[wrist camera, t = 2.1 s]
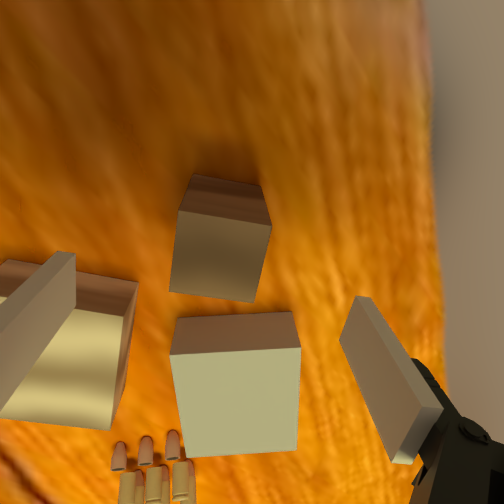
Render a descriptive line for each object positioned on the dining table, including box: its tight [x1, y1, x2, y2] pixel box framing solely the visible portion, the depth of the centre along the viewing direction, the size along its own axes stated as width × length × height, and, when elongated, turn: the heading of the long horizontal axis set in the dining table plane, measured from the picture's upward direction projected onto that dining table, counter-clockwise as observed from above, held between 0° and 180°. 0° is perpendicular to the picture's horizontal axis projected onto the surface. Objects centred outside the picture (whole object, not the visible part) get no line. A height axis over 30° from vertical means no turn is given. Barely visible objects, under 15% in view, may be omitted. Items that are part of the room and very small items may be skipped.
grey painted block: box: [169, 311, 301, 458], centre depth 32 cm, size 12×10×5 cm
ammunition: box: [111, 430, 196, 504], centre depth 37 cm, size 5×7×8 cm
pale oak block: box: [0, 259, 139, 431], centre depth 29 cm, size 12×10×5 cm
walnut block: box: [169, 174, 272, 303], centre depth 23 cm, size 5×5×8 cm
